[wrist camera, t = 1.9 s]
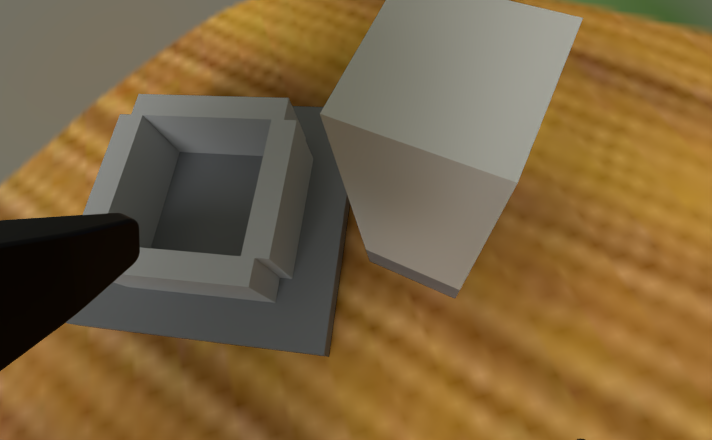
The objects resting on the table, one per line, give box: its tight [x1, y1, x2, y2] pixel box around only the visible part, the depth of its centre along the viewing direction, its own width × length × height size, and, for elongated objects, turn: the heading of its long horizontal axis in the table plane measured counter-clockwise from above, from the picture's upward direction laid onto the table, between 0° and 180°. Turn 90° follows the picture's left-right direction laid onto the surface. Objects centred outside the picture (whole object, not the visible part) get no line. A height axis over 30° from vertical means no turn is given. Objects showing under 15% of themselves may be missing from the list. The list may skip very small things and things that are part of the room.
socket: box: [66, 94, 350, 357], centre depth 21 cm, size 13×13×5 cm
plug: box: [320, 0, 583, 298], centre depth 15 cm, size 4×4×12 cm
